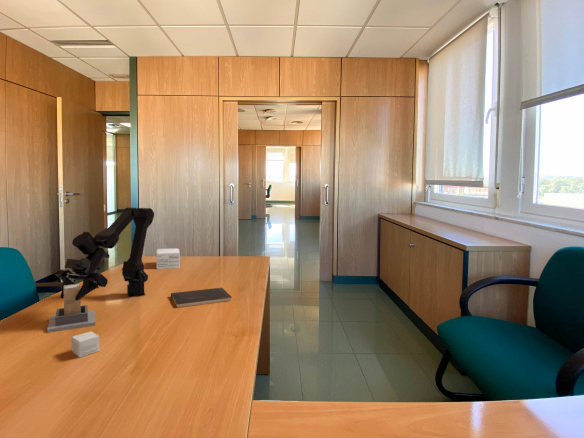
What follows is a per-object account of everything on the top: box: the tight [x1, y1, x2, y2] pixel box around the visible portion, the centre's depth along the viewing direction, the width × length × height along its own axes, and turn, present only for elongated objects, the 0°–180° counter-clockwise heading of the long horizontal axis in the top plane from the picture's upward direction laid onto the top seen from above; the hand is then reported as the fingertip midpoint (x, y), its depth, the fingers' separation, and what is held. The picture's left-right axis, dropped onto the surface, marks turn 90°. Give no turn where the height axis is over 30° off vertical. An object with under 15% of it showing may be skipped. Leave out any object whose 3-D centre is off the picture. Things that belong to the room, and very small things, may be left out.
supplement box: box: [156, 247, 181, 270], centre depth 219 cm, size 17×13×9 cm
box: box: [62, 283, 82, 316], centre depth 129 cm, size 5×4×11 cm
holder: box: [46, 304, 96, 334], centre depth 129 cm, size 14×14×4 cm
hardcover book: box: [170, 287, 232, 308], centre depth 158 cm, size 16×23×2 cm
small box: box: [71, 331, 100, 358], centre depth 107 cm, size 6×6×5 cm
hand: (68, 298), depth 127 cm, fingers closed on box, 6 cm apart
